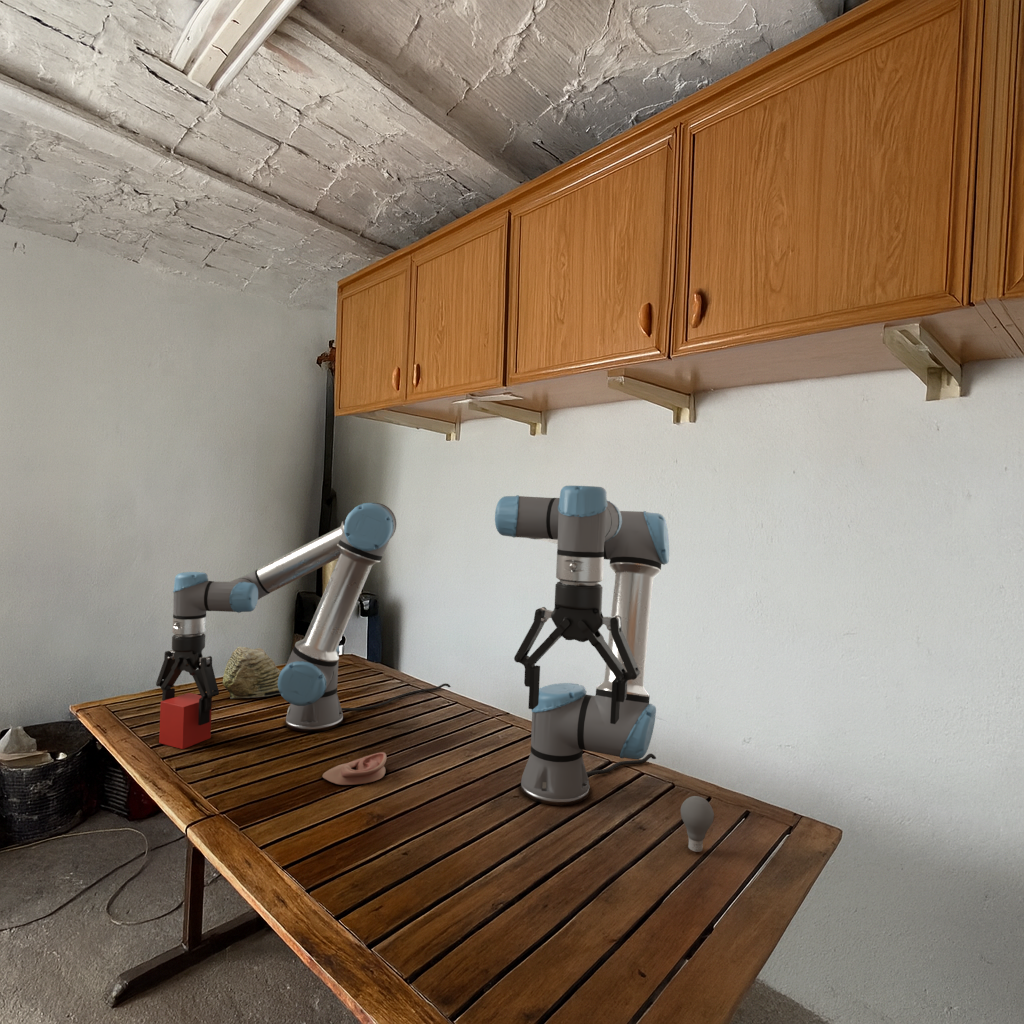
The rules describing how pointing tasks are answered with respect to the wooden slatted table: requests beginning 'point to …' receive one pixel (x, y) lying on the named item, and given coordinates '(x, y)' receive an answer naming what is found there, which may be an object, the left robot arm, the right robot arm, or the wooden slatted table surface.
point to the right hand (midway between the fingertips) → (573, 714)
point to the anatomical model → (358, 770)
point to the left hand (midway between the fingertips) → (185, 719)
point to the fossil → (251, 674)
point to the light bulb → (696, 820)
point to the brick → (182, 722)
